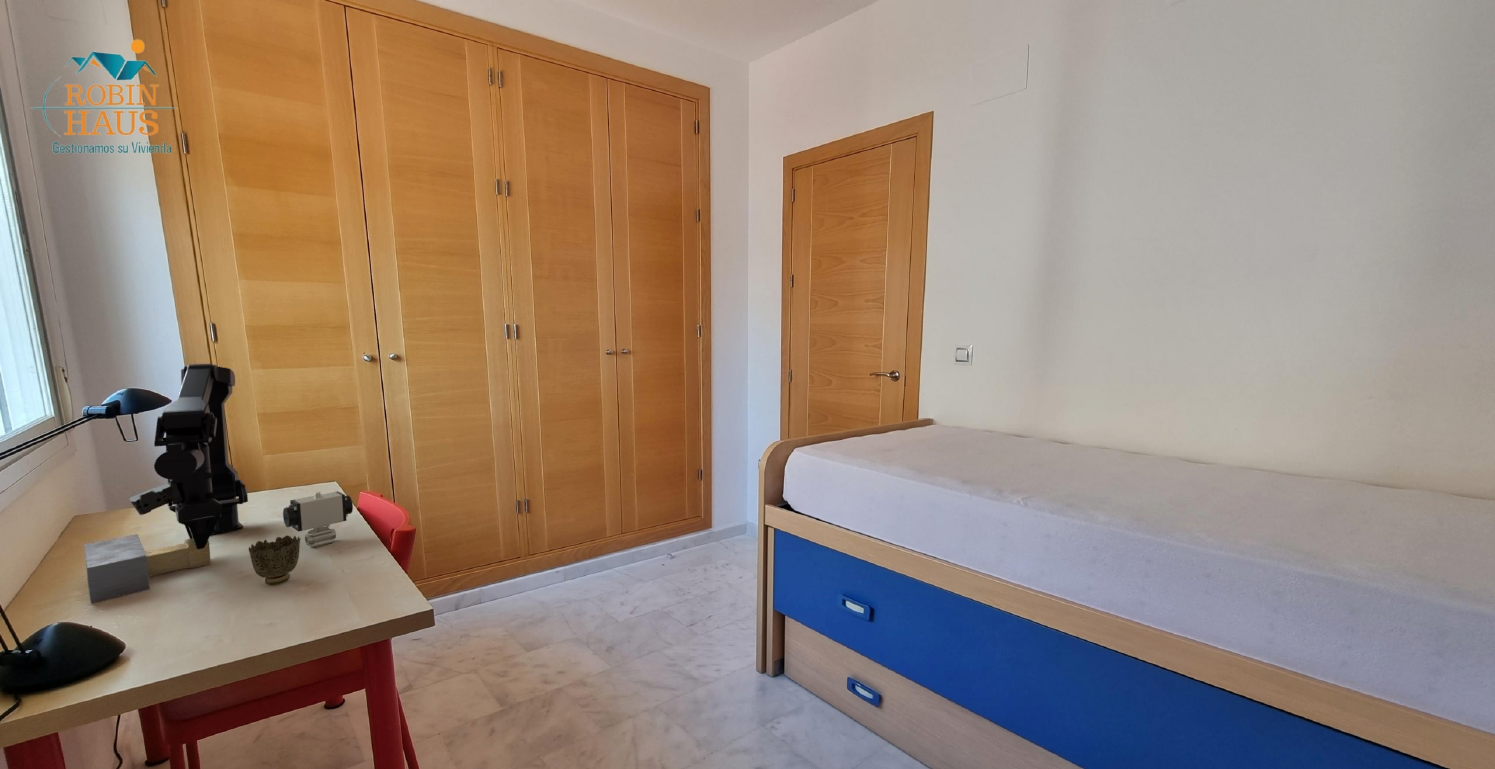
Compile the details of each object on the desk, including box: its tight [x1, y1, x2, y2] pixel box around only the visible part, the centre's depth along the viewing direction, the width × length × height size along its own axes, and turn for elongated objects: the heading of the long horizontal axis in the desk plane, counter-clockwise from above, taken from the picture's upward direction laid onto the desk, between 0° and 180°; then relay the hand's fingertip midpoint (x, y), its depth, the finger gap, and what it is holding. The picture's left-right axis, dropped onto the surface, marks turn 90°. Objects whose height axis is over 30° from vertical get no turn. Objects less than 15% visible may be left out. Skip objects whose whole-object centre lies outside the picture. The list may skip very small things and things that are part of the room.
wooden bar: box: [145, 538, 212, 577], centre depth 107 cm, size 15×5×5 cm, turn 142°
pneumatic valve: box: [282, 491, 354, 548], centre depth 123 cm, size 6×12×12 cm, turn 144°
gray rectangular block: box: [83, 533, 151, 605], centre depth 103 cm, size 7×18×6 cm, turn 52°
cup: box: [248, 534, 301, 586], centre depth 103 cm, size 8×7×8 cm
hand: (197, 543), depth 112 cm, fingers open, 9 cm apart
